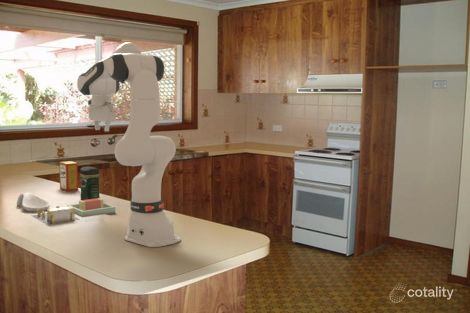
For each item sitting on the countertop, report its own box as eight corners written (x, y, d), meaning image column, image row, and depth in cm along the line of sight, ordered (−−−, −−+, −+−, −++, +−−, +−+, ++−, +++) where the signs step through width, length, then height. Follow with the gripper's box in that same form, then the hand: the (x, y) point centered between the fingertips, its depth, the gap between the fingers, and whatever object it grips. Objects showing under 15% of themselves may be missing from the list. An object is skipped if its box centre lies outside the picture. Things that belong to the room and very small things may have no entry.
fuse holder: (80, 221, 204) (80, 207, 203) (47, 227, 195) (47, 212, 194) (62, 213, 218) (62, 200, 217) (31, 217, 209) (30, 204, 208)
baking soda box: (78, 190, 271) (77, 162, 269) (67, 191, 267) (66, 163, 265) (70, 187, 278) (70, 160, 276) (59, 188, 274) (59, 161, 272)
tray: (115, 213, 220) (115, 206, 220) (82, 218, 209) (82, 211, 209) (99, 206, 232) (99, 200, 231) (67, 211, 221) (67, 205, 221)
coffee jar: (102, 203, 239) (101, 167, 237) (88, 206, 233) (87, 168, 231) (92, 200, 245) (91, 164, 243) (78, 202, 239) (77, 166, 237)
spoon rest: (54, 212, 220) (54, 197, 220) (29, 216, 212) (28, 200, 211) (32, 203, 237) (32, 189, 236) (8, 207, 228) (7, 192, 227)
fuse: (103, 209, 222) (103, 199, 222) (83, 213, 216) (82, 202, 215) (99, 208, 225) (99, 198, 225) (79, 211, 219) (78, 200, 218)
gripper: (118, 102, 221) (118, 131, 223) (98, 101, 236) (98, 129, 238) (105, 102, 217) (106, 132, 219) (86, 101, 232) (86, 129, 234)
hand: (102, 130), depth 229 cm, fingers open, 8 cm apart
